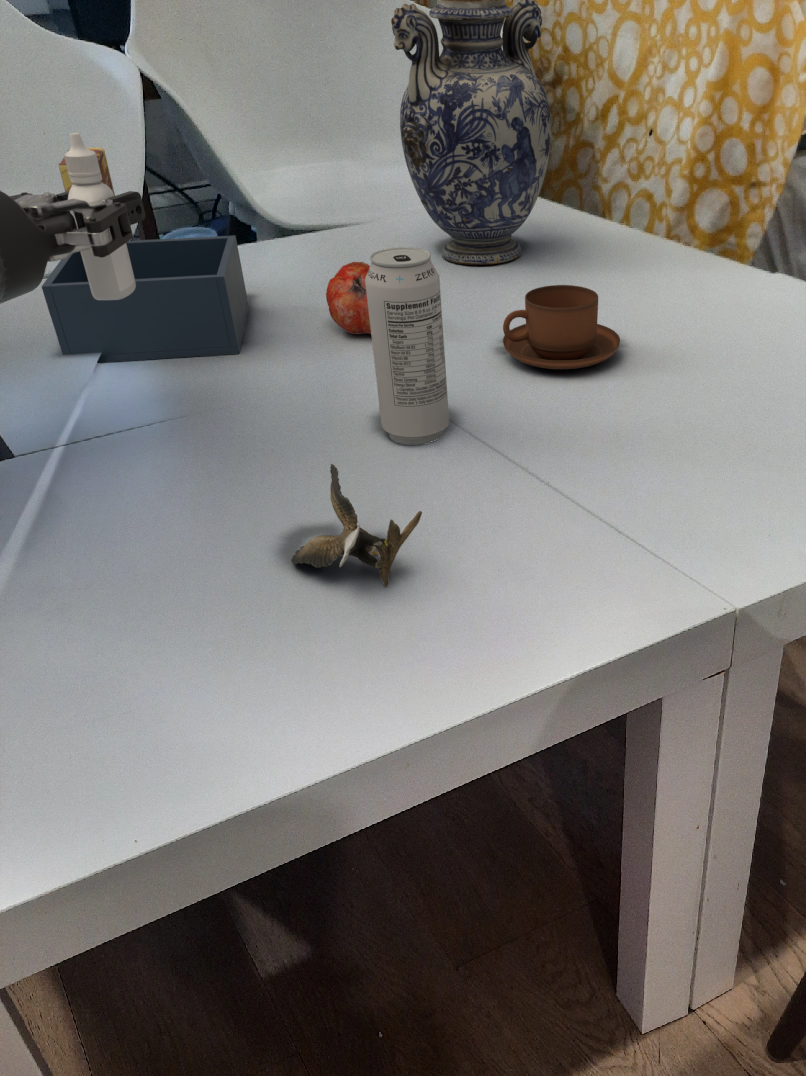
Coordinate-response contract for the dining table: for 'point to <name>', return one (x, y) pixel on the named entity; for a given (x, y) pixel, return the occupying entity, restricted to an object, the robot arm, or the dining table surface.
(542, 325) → the cup and saucer
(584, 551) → the dining table surface
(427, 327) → the energy drink can
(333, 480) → the eagle figurine
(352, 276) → the pomegranate
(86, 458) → the dining table surface
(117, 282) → the eye dropper bottle
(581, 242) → the dining table surface
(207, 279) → the bin
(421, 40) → the decorative vase
